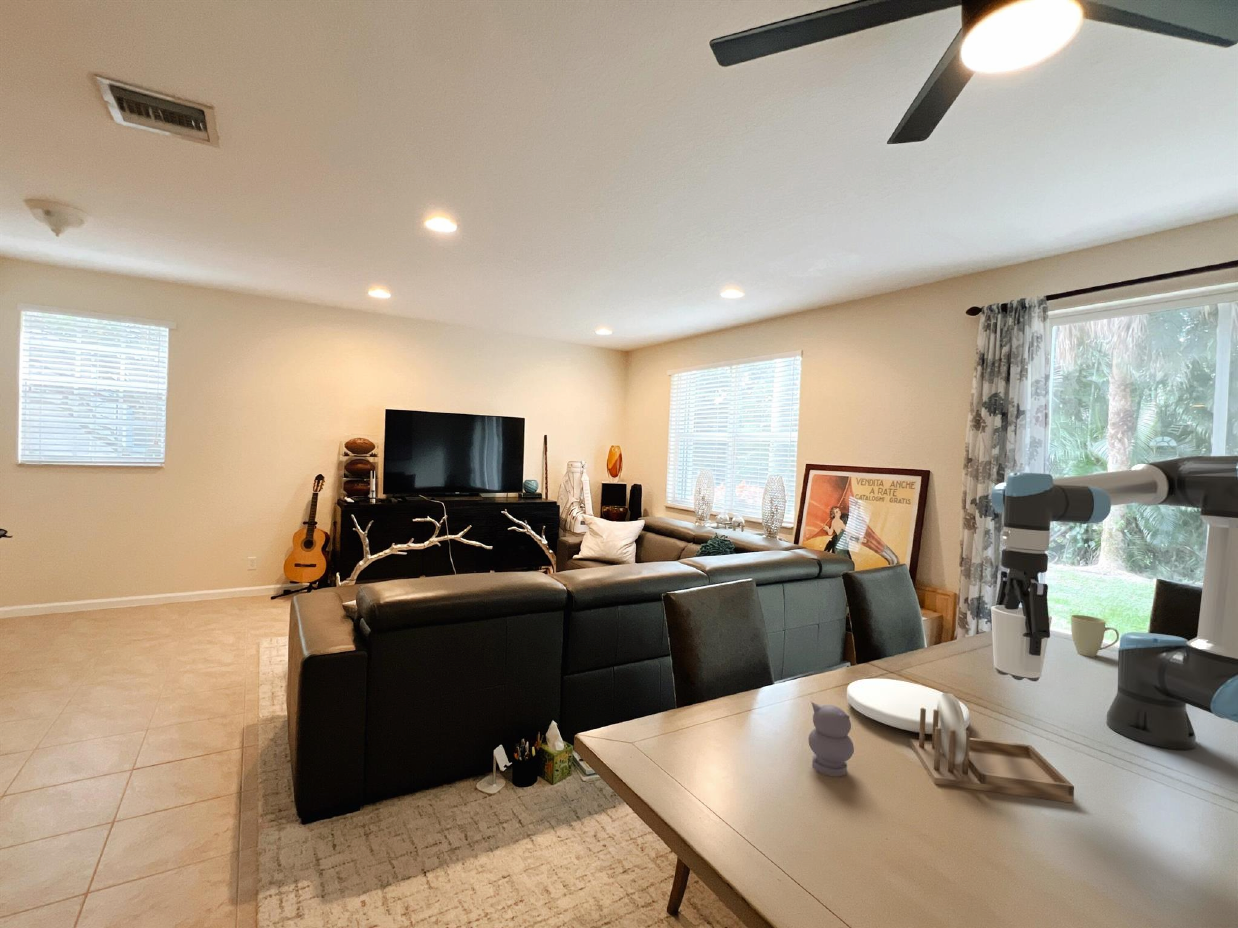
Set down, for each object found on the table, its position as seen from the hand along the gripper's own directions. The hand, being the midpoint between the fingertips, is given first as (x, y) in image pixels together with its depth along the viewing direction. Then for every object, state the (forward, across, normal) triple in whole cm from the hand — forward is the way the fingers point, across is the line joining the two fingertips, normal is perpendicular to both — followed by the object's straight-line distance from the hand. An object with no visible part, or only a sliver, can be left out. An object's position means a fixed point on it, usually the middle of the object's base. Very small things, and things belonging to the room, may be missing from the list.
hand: (1017, 661), depth 113 cm
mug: (+20, -91, +61) cm, 112 cm away
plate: (+22, -21, -14) cm, 34 cm away
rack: (+22, +2, -5) cm, 23 cm away
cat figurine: (+23, +9, -36) cm, 43 cm away
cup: (+3, 0, 0) cm, 3 cm away
